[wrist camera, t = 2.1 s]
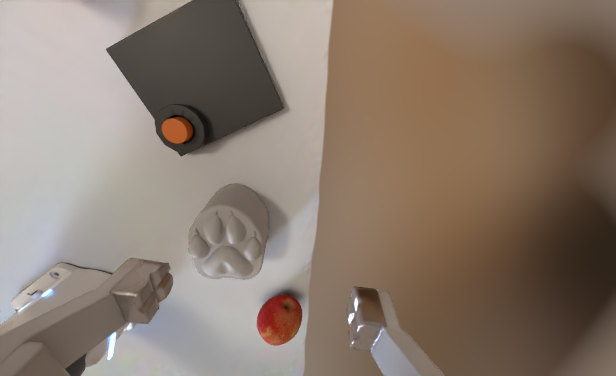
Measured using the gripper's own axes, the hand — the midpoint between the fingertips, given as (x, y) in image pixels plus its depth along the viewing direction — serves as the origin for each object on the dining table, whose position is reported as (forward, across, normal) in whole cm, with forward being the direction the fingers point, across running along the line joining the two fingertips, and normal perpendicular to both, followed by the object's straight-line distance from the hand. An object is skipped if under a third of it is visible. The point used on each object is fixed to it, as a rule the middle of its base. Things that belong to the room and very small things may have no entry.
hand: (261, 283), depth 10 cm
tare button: (+21, -15, 0) cm, 26 cm away
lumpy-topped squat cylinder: (+24, -9, -15) cm, 29 cm away
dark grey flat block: (+25, -13, +6) cm, 29 cm away
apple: (+23, 0, -34) cm, 41 cm away
